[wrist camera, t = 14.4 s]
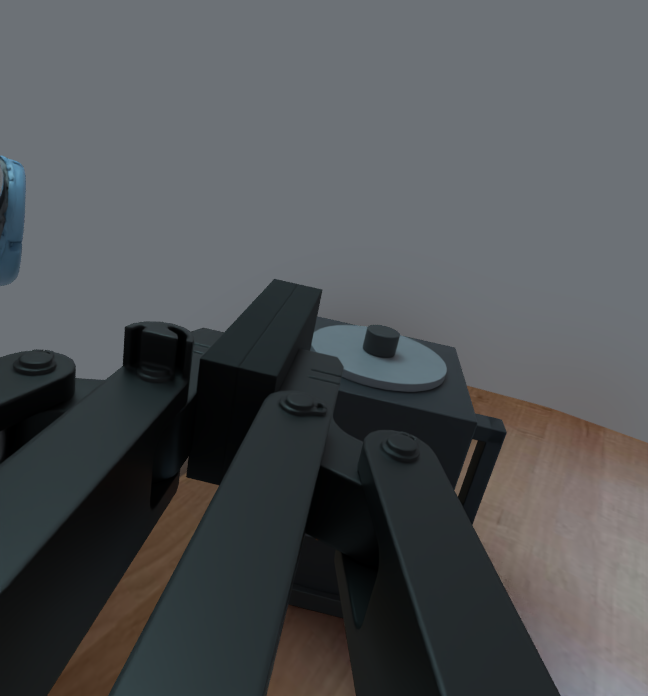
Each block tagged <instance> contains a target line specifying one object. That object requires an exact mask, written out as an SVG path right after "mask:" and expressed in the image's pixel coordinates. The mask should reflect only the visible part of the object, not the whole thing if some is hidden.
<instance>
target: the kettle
mask: <svg viewBox="0 0 648 696" xmlns="http://www.w3.org/2000/svg"><path fill="white" fill-rule="evenodd" d="M310 351H314V352H318V353H322V354H327V355H331V356H335V357H338V358H339V360H340V361H341V363H342V365H343V366H344V369H343V373H342V377H341V382H340V386H339V390H338V395H337V399H336V404H335V408H334V412H333V419H334V421H335V423H336V424H337V425H338V426H339V427H340V429H342V430H343V431H344V432H346V433H347V434H349V435H351V436H352V437H354V438H356V439H358V440H361V441H363V442H364V438H365V437H366V436H367V435H368V434H369V433H371V432H374V431H378V430H394V431H399V432H400V431H402V432H406V433H409V435H413V436H415V437H417V438H418V439H420V440H421V441H423V442H424V443H426V444H427V445H428V446H429V447H430V448H431V449H432V450H433V452H434V453H435V454H436V456H437V458H438V460H439V462H440V464H441V466H442V468H443V470H444V472H445V474H446V476H447V477H448V479H449V481H450V483H451V485H452V487H453V489H454V490H455V487H456V484H457V481H458V478H459V475H460V472H461V469H462V467H463V464H464V461H465V458H466V455H467V452H468V449H469V446H470V444H471V441H472V439H474V440H478V442H477V445H476V447H475V450H474V453H473V456H472V459H471V462H470V464H469V467H468V470H467V473H466V476H465V478H464V481H463V484H462V487H461V490H460V493H459V495H458V499H459V501H460V503H461V504H462V506H463V508H464V510H465V512H466V514H467V516H468V518H469V520H470V522H471V524H473V522H474V519H475V516H476V513H477V511H478V508H479V505H480V503H481V500H482V497H483V495H484V492H485V489H486V487H487V484H488V481H489V479H490V476H491V473H492V471H493V468H494V465H495V463H496V460H497V457H498V455H499V452H500V449H501V447H502V444H503V441H504V439H505V436H506V433H507V432H506V429H505V427H504V424H503V422H502V420H501V419H497V418H493V417H488V416H484V415H480V414H475V412H474V409H473V406H472V402H471V399H470V396H469V392H468V389H467V386H466V382H465V379H464V376H463V372H462V369H461V366H460V362H459V359H458V356H457V352H456V349H455V348H454V347H450V346H445V345H441V344H436V343H431V342H428V341H423V340H418V339H414V338H410V337H405V336H401V335H400V334H399V333H398V332H397V331H396V330H394V329H392V328H389V327H386V326H382V325H370V326H369V327H364V326H357V325H352V324H348V323H343V322H339V321H334V320H331V319H326V318H321V317H317V319H316V324H315V329H314V334H313V339H312V344H311V349H310ZM335 550H336V549H334V548H332V547H330V546H328V545H326V544H325V543H323V542H321V541H319V540H316V539H315V538H313V537H311V536H310V535H308V534H306V533H305V537H304V541H303V546H302V550H301V554H300V557H299V561H298V565H297V569H296V574H295V578H294V582H293V586H292V590H291V594H290V599H289V603H288V604H289V605H293V606H297V607H301V608H305V609H309V610H313V611H317V612H321V613H325V614H329V615H333V616H337V617H341V618H343V612H342V606H341V600H340V594H339V588H338V581H337V575H336V569H335V563H334V558H335Z"/></svg>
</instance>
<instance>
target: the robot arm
mask: <svg viewBox="0 0 648 696" xmlns="http://www.w3.org/2000/svg"><path fill="white" fill-rule="evenodd" d="M25 179H26V178H25V172H24V168H23V166H22V165H21V164H20V163H19V162H17V161H14V160H10V159H8V158H6V157H4V156H0V286H4V285H7V284H10V283H12V282H13V281H14V280H15V279H16V278H17V276H18V273H19V268H20V262H21V253H22V243H21V242H22V239H23V231H24V217H25V192H26V191H25V190H26V180H25ZM321 294H322V290H321V289H317V288H312V287H308V286H304V285H299V284H295V283H290V282H286V281H281V280H277V279H274V280H273V281H272V282H271V283H270V284H269V285H268V286H267V288H266V289H265V290H264V291H263V292H262V293H261V294H260V295H259V296H258V297H257V298H256V299H255V300H254V301H253V302H252V304H251V305H250V306H249V307H248V308H247V309H246V310H245V311H244V312H243V313H242V314H241V315H240V316H239V317H238V318H237V320H236V321H235V322H234V323H233V324H232V325H231V326H230V327H229V328H228V329H227V330H226V331H225V332H220V331H215V330H211V329H207V328H202V329H198V330H195V331H192V332H190V331H189V330H187V329H185V328H184V327H181V326H178V325H175V324H171V323H164V322H139V323H133V324H131V325H128V326H126V327H125V336H124V337H125V338H124V354H123V366H122V367H121V368H120V369H119V370H117V371H116V372H115V373H114V374H112V375H111V376H110V377H109V378H107V379H106V380H95V379H79V378H75V371H76V369H75V367H76V366H75V364H74V361H73V360H72V359H70V358H69V357H67V356H65V355H63V354H59V353H55V352H53V351H48V350H45V351H43V350H32V351H25V352H19V353H14V354H10V355H6V356H3V357H1V358H0V696H47V695H48V693H49V692H50V690H51V688H52V687H53V685H54V684H55V682H56V681H57V679H58V677H59V676H60V674H61V673H62V671H63V670H64V668H65V666H66V665H67V663H68V662H69V660H70V658H71V657H72V655H73V654H74V652H75V651H76V649H77V647H78V646H79V644H80V643H81V641H82V640H83V638H84V636H85V635H86V633H87V632H88V630H89V629H90V627H91V625H92V624H93V622H94V621H95V619H96V618H97V616H98V614H99V613H100V611H101V610H102V608H103V607H104V605H105V603H106V602H107V600H108V599H109V597H110V595H111V594H112V592H113V591H114V589H115V588H116V586H117V584H118V583H119V581H120V580H121V578H122V577H123V575H124V573H125V572H126V570H127V569H128V567H129V566H130V564H131V562H132V561H133V559H134V558H135V556H136V555H137V553H138V551H139V550H140V548H141V547H142V545H143V544H144V542H145V540H146V539H147V537H148V536H149V534H150V532H151V531H152V529H153V528H154V526H155V525H156V523H157V521H158V520H159V518H160V517H161V515H162V514H163V512H164V510H165V509H166V507H167V506H168V504H169V503H170V501H171V499H172V498H173V496H174V495H175V493H176V491H177V488H178V485H179V476H180V468H181V467H182V465H183V464H184V462H185V461H186V459H187V458H188V456H189V459H188V468H187V476H186V477H187V478H192V479H196V480H200V481H204V482H208V483H212V484H216V485H219V487H218V489H217V491H216V493H215V495H214V497H213V499H212V500H211V502H210V504H209V506H208V508H207V510H206V512H205V514H204V516H203V517H202V519H201V521H200V523H199V525H198V527H197V529H196V531H195V533H194V534H193V536H192V538H191V540H190V542H189V544H188V546H187V548H186V550H185V551H184V553H183V555H182V557H181V559H180V561H179V563H178V565H177V567H176V568H175V570H174V572H173V574H172V576H171V578H170V580H169V582H168V584H167V585H166V587H165V589H164V591H163V593H162V595H161V597H160V599H159V601H158V602H157V604H156V606H155V608H154V610H153V612H152V614H151V616H150V618H149V620H148V621H147V623H146V625H145V627H144V629H143V631H142V633H141V635H140V637H139V638H138V640H137V642H136V644H135V646H134V648H133V650H132V652H131V654H130V655H129V657H128V659H127V661H126V663H125V665H124V667H123V669H122V671H121V672H120V674H119V676H118V678H117V680H116V682H115V684H114V686H113V688H112V689H111V691H110V693H109V695H108V696H266V695H267V690H268V686H269V682H270V678H271V674H272V670H273V665H274V661H275V657H276V653H277V649H278V645H279V640H280V636H281V632H282V628H283V624H284V620H285V615H286V611H287V607H288V603H289V599H290V594H291V590H292V586H293V582H294V578H295V574H296V569H297V565H298V561H299V557H300V554H301V550H302V546H303V541H304V537H305V533H306V534H308V535H310V536H311V537H313V538H315V539H317V540H319V541H321V542H323V543H325V544H326V545H328V546H330V547H332V548H334V549H336V550H335V558H334V563H335V569H336V575H337V581H338V588H339V594H340V600H341V606H342V612H343V618H344V625H345V631H346V637H347V643H348V649H349V655H350V662H351V668H352V674H353V680H354V686H355V692H356V696H560V694H559V692H558V690H557V688H556V686H555V684H554V682H553V680H552V678H551V676H550V674H549V672H548V670H547V669H546V667H545V665H544V663H543V661H542V659H541V657H540V655H539V653H538V651H537V649H536V647H535V645H534V643H533V642H532V640H531V638H530V636H529V634H528V632H527V630H526V628H525V626H524V624H523V622H522V620H521V618H520V616H519V614H518V613H517V611H516V609H515V607H514V605H513V603H512V601H511V599H510V597H509V595H508V593H507V591H506V589H505V587H504V586H503V584H502V582H501V580H500V578H499V576H498V574H497V572H496V570H495V568H494V566H493V564H492V562H491V560H490V559H489V557H488V555H487V553H486V551H485V549H484V547H483V545H482V543H481V541H480V539H479V537H478V535H477V533H476V532H475V530H474V528H473V526H472V524H471V522H470V520H469V518H468V516H467V514H466V512H465V510H464V508H463V506H462V504H461V503H460V501H459V499H458V497H457V495H456V493H455V491H454V489H453V487H452V485H451V483H450V481H449V479H448V477H447V476H446V474H445V472H444V470H443V468H442V466H441V464H440V462H439V460H438V458H437V456H436V454H435V453H434V452H433V450H432V449H431V448H430V447H429V446H428V445H427V444H426V443H424V442H423V441H421V440H420V439H418V438H417V437H415V436H413V435H409V433H406V432H402V431H400V432H399V431H394V430H378V431H374V432H371V433H369V434H368V435H367V436H366V437H365V438H364V442H363V441H361V440H358V439H356V438H354V437H352V436H351V435H349V434H347V433H346V432H344V431H343V430H342V429H340V427H339V426H338V425H337V424H336V423H335V421H334V419H333V412H334V408H335V404H336V399H337V395H338V390H339V386H340V382H341V377H342V373H343V369H344V366H343V365H342V363H341V361H340V360H339V358H338V357H335V356H331V355H327V354H322V353H318V352H314V351H310V349H311V344H312V339H313V334H314V329H315V324H316V319H317V314H318V309H319V304H320V299H321Z"/></svg>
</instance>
